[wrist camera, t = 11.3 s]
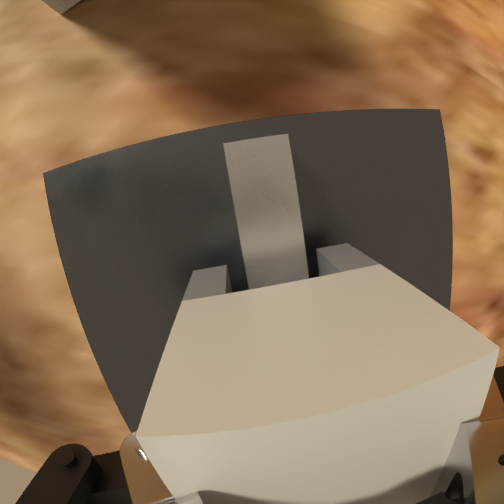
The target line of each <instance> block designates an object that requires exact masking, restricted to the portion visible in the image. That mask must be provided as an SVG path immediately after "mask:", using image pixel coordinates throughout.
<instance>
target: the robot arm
mask: <svg viewBox="0 0 504 504" xmlns="http://www.w3.org/2000/svg"><path fill="white" fill-rule="evenodd" d="M136 434H137V431H135V432H133V433H131V434H130V435H129V436H127V437H126V438H125V439H124V441H123V442H122V444H121V446H120V450H119V451H115V452H111V453H106V454H102V455H97V456H92V454H91V453H90V451H89V450H88V449H87V448H86V447H84V446H83V445H80V444H68V445H64V446H62V447H60V448H58V449H56V450H55V451H54V452H53V453H52V454H51V455H50V456H49V458H48V459H47V460H46V462H45V463H44V464H43V466H42V467H41V468H40V470H39V471H38V473H37V474H36V475H35V477H34V478H33V480H32V481H31V483H30V484H29V485H28V486H27V488H26V490H25V491H24V492H23V494H22V495H21V496H20V498H19V499H18V501H17V502H16V504H205V503H204V502H203V500H202V498H201V497H200V495H199V494H198V492H196V493H193V494H190V495H187V496H184V497H181V498H177V499H175V498H174V497H173V495H172V494H171V492H170V491H169V490H168V488H167V487H166V485H165V484H164V482H163V481H162V479H161V478H160V476H159V475H158V473H157V471H156V470H155V468H154V467H153V465H152V464H151V462H150V460H149V459H148V457H147V455H146V454H145V452H144V450H143V449H142V447H141V445H140V443H139V442H138V440H137V438H136ZM416 504H504V366H502V367H497V368H495V370H494V374H493V377H492V381H491V384H490V387H489V390H488V394H487V397H486V400H485V403H484V406H483V409H482V411H481V414H480V417H479V420H478V421H475V422H469V423H462V424H460V427H459V429H458V432H457V435H456V438H455V440H454V443H453V446H452V448H451V451H450V453H449V456H448V458H447V460H446V463H445V465H444V467H443V470H442V472H441V474H440V476H439V478H438V481H437V483H436V485H435V487H434V489H433V491H432V493H431V495H430V497H429V498H427V499H425V500H423V501H421V502H418V503H416Z"/></svg>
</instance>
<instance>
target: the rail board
mask: <svg viewBox="0 0 504 504" xmlns="http://www.w3.org/2000/svg"><path fill="white" fill-rule="evenodd" d="M43 176H44V182H45V188H46V194H47V199H48V205H49V210H50V215H51V219H52V224H53V228H54V233H55V237H56V241H57V245H58V249H59V253H60V257H61V260H62V264H63V268H64V271H65V275H66V278H67V281H68V285H69V288H70V291H71V294H72V297H73V300H74V303H75V306H76V309H77V312H78V315H79V318H80V321H81V323H82V326H83V329H84V331H85V334H86V337H87V339H88V342H89V344H90V347H91V349H92V352H93V354H94V357H95V359H96V361H97V364H98V366H99V368H100V371H101V373H102V375H103V377H104V379H105V382H106V384H107V386H108V388H109V390H110V392H111V394H112V396H113V398H114V401H115V403H116V405H117V407H118V409H119V410H120V412H121V414H122V416H123V418H124V420H125V422H126V424H127V426H128V428H129V429H130V431H131V433H133V432H135V431H137V430H138V427H139V424H140V421H141V418H142V415H143V411H144V408H145V405H146V402H147V399H148V396H149V393H150V390H151V387H152V384H153V381H154V378H155V375H156V372H157V369H158V366H159V363H160V361H161V358H162V355H163V352H164V349H165V346H166V343H167V341H168V338H169V335H170V332H171V329H172V327H173V324H174V321H175V318H176V316H177V313H178V310H179V307H180V305H181V302H182V299H183V297H184V294H185V291H186V289H187V286H188V283H189V281H190V278H191V276H192V273H193V271H195V270H200V269H206V268H212V267H217V266H223V265H227V269H228V274H229V279H230V284H231V289H232V293H233V292H239V291H245V290H250V289H256V288H261V287H267V286H272V285H278V284H283V283H288V282H294V281H299V280H304V279H309V278H314V277H319V271H318V262H317V253H316V249H318V248H323V247H329V246H334V245H339V244H345V243H348V244H350V245H351V246H353V247H354V248H356V249H357V250H359V251H361V252H362V253H364V254H365V255H367V256H369V257H370V258H372V259H373V260H375V261H376V262H378V263H379V264H381V265H382V266H384V267H386V268H387V269H389V270H390V271H392V272H393V273H395V274H396V275H398V276H399V277H401V278H402V279H404V280H405V281H407V282H408V283H410V284H411V285H413V286H414V287H416V288H417V289H419V290H420V291H422V292H423V293H425V294H426V295H427V296H429V297H430V298H432V299H433V300H435V301H436V302H438V303H439V304H440V305H442V306H443V307H445V308H446V309H448V310H449V311H450V299H451V284H452V254H453V235H452V205H451V190H450V178H449V168H448V159H447V151H446V143H445V137H444V130H443V124H442V118H441V113H440V110H436V109H366V110H345V111H330V112H317V113H306V114H296V115H287V116H278V117H271V118H263V119H256V120H249V121H243V122H236V123H230V124H225V125H219V126H213V127H208V128H203V129H198V130H193V131H188V132H183V133H179V134H174V135H170V136H165V137H161V138H157V139H153V140H149V141H145V142H141V143H137V144H133V145H130V146H126V147H122V148H119V149H115V150H112V151H108V152H105V153H102V154H98V155H95V156H92V157H89V158H86V159H82V160H79V161H76V162H73V163H70V164H67V165H65V166H62V167H59V168H56V169H53V170H50V171H48V172H45V173H43Z"/></svg>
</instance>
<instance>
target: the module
mask: <svg viewBox="0 0 504 504" xmlns="http://www.w3.org/2000/svg"><path fill="white" fill-rule="evenodd" d="M316 253H317V262H318V271H319V277H314V278H309V279H304V280H299V281H294V282H288V283H283V284H278V285H272V286H267V287H261V288H256V289H250V290H245V291H239V292H233V293H232V289H231V284H230V279H229V274H228V269H227V265H223V266H217V267H212V268H206V269H200V270H195V271H193V273H192V276H191V278H190V281H189V283H188V286H187V289H186V291H185V294H184V297H183V299H182V302H181V305H180V307H179V310H178V313H177V316H176V318H175V321H174V324H173V327H172V329H171V332H170V335H169V338H168V341H167V343H166V346H165V349H164V352H163V355H162V358H161V361H160V363H159V366H158V369H157V372H156V375H155V378H154V381H153V384H152V387H151V390H150V393H149V396H148V399H147V402H146V405H145V408H144V411H143V415H142V418H141V421H140V424H139V427H138V430H137V434H136V438H137V440H138V442H139V443H140V445H141V447H142V449H143V450H144V452H145V454H146V455H147V457H148V459H149V460H150V462H151V464H152V465H153V467H154V468H155V470H156V471H157V473H158V475H159V476H160V478H161V479H162V481H163V482H164V484H165V485H166V487H167V488H168V490H169V491H170V492H171V494H172V495H173V497H174V498H175V499H177V498H181V497H184V496H187V495H190V494H193V493H196V492H198V494H199V495H200V497H201V498H202V500H203V502H204V503H205V504H416V503H418V502H421V501H423V500H425V499H427V498H429V497H430V495H431V493H432V491H433V489H434V487H435V485H436V483H437V481H438V478H439V476H440V474H441V472H442V470H443V467H444V465H445V463H446V460H447V458H448V456H449V453H450V451H451V448H452V446H453V443H454V440H455V438H456V435H457V432H458V429H459V427H460V424H462V423H469V422H475V421H478V420H479V417H480V414H481V411H482V409H483V406H484V403H485V400H486V397H487V394H488V390H489V387H490V384H491V381H492V377H493V374H494V370H495V366H496V362H497V359H498V354H499V350H500V347H498V346H497V345H496V344H494V343H493V342H492V341H490V340H489V339H488V338H486V337H485V336H484V335H482V334H481V333H479V332H478V331H477V330H475V329H474V328H473V327H471V326H470V325H469V324H467V323H466V322H464V321H463V320H462V319H460V318H459V317H457V316H456V315H455V314H453V313H452V312H450V311H449V310H448V309H446V308H445V307H443V306H442V305H440V304H439V303H438V302H436V301H435V300H433V299H432V298H430V297H429V296H427V295H426V294H425V293H423V292H422V291H420V290H419V289H417V288H416V287H414V286H413V285H411V284H410V283H408V282H407V281H405V280H404V279H402V278H401V277H399V276H398V275H396V274H395V273H393V272H392V271H390V270H389V269H387V268H386V267H384V266H382V265H381V264H379V263H378V262H376V261H375V260H373V259H372V258H370V257H369V256H367V255H365V254H364V253H362V252H361V251H359V250H357V249H356V248H354V247H353V246H351V245H350V244H348V243H345V244H339V245H334V246H329V247H323V248H318V249H316Z"/></svg>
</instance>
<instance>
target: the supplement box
mask: <svg viewBox="0 0 504 504" xmlns="http://www.w3.org/2000/svg"><path fill="white" fill-rule="evenodd" d="M42 1H43V2H45V3H46V4H47V5H48V6H50V7H51V8H52V9H54V10H55V11H56V12H58V13H59V14H63V13H64V12H66V11H67V10H68V9H70V8H71V7H72V6H74V5H75V4H77V3H78V2H80V1H81V0H42Z"/></svg>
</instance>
